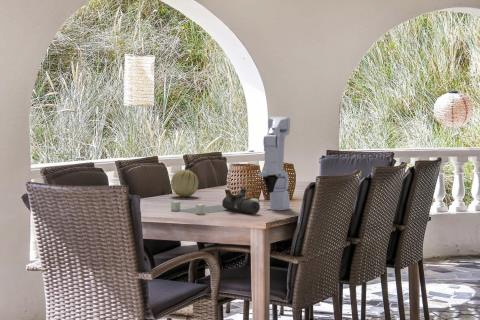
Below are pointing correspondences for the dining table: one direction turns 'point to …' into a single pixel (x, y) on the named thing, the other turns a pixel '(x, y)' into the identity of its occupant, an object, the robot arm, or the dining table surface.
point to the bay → (207, 209)
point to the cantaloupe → (184, 183)
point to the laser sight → (240, 203)
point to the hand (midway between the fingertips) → (270, 192)
